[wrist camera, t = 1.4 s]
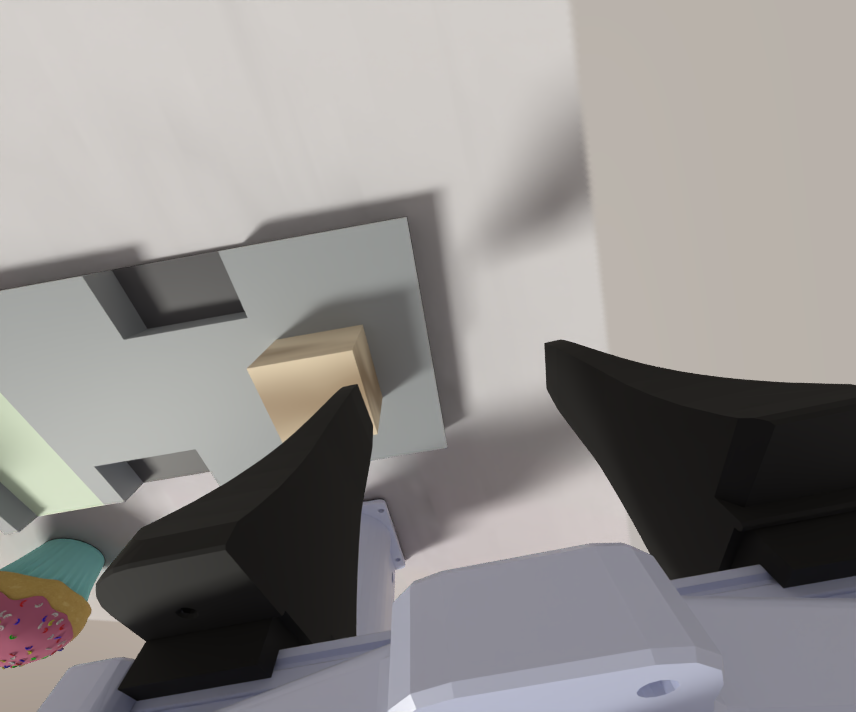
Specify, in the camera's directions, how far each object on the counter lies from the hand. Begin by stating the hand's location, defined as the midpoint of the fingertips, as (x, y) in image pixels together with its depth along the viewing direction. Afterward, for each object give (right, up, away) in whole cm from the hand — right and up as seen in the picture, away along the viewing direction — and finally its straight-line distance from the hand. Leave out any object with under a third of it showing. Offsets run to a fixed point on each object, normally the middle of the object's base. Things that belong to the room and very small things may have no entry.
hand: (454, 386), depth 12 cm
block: (-7, 0, +7) cm, 9 cm away
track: (-16, 0, +9) cm, 18 cm away
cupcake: (-32, -16, +16) cm, 39 cm away
